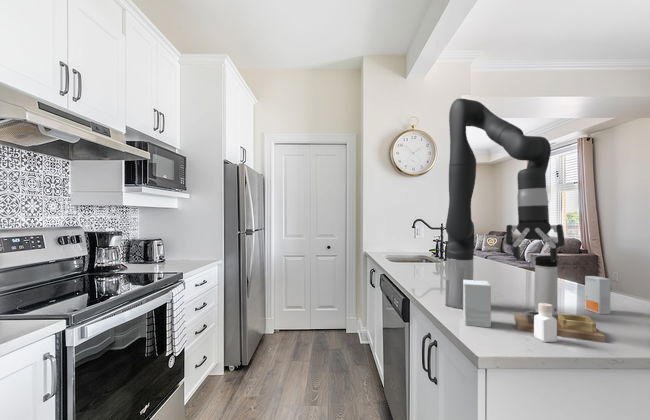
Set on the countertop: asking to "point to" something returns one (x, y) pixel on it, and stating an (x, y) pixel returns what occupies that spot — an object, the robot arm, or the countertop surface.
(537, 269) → the travel mug
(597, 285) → the skincare box
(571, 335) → the brown wooden flat board
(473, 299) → the supplement box
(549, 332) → the pepper shaker
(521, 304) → the countertop surface
